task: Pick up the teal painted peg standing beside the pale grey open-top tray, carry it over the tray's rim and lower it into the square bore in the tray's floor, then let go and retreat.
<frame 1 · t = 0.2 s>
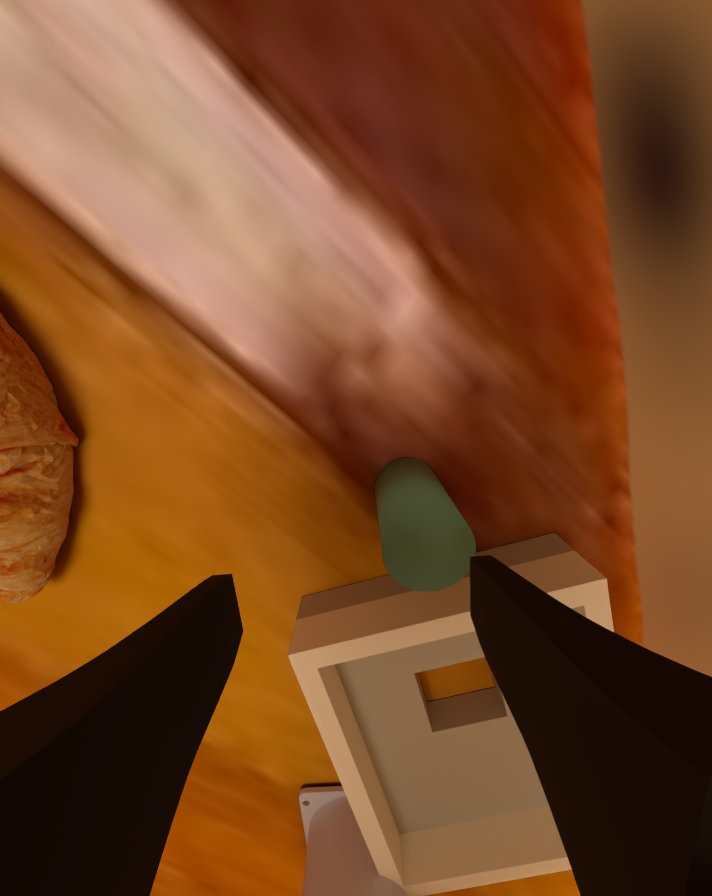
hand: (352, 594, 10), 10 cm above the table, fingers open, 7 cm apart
bore tray: (459, 690, 24), on the table
peg: (405, 487, 20), on the table
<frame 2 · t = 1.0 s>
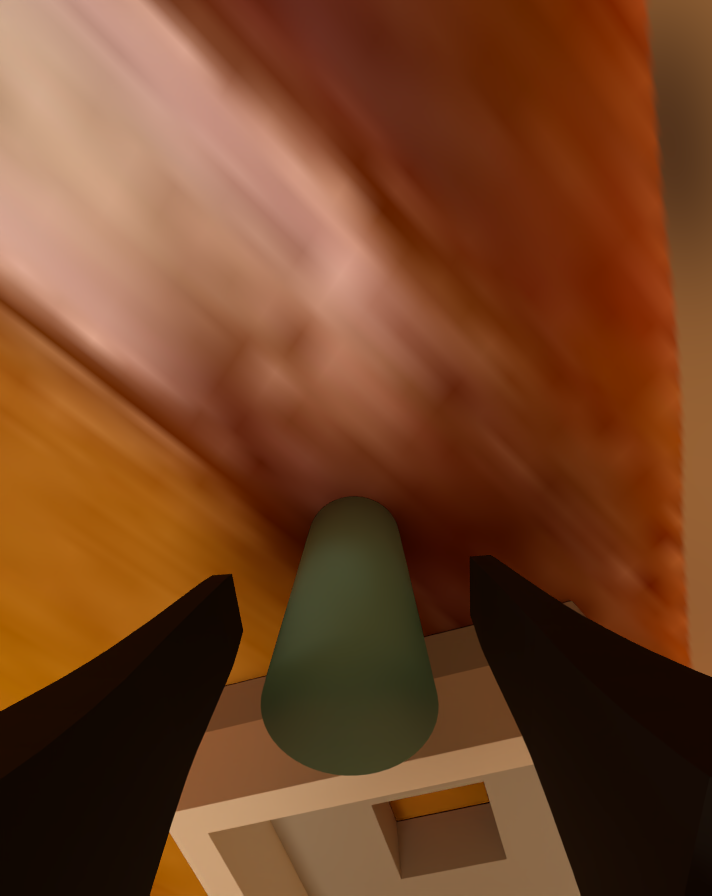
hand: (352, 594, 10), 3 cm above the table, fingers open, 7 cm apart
bore tray: (440, 807, 17), on the table
peg: (354, 538, 14), on the table
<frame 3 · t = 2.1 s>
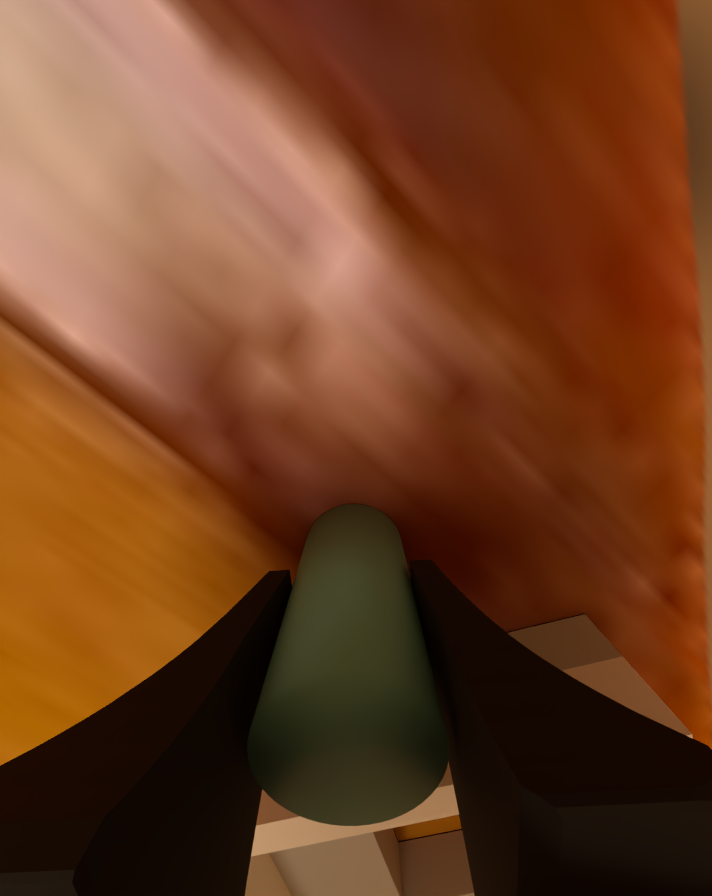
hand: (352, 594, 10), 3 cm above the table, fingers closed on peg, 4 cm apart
bore tray: (444, 827, 16), on the table
peg: (353, 548, 13), on the table, touching gripper
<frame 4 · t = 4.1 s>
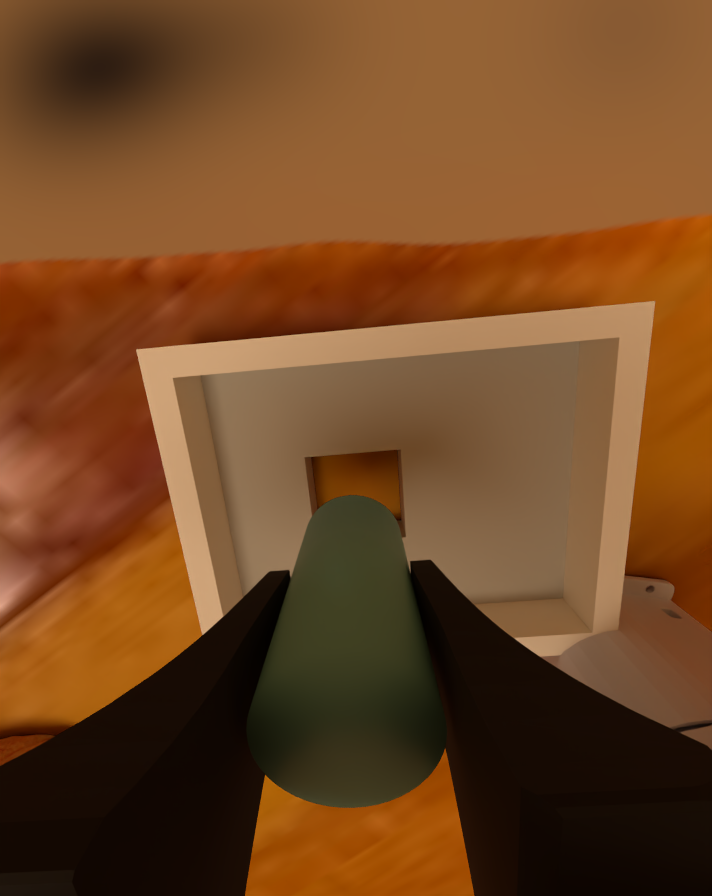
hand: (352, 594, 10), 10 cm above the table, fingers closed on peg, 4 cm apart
bore tray: (392, 482, 20), on the table
peg: (353, 540, 13), point 7 cm above the table, touching gripper
croissant: (64, 771, 26), on the table
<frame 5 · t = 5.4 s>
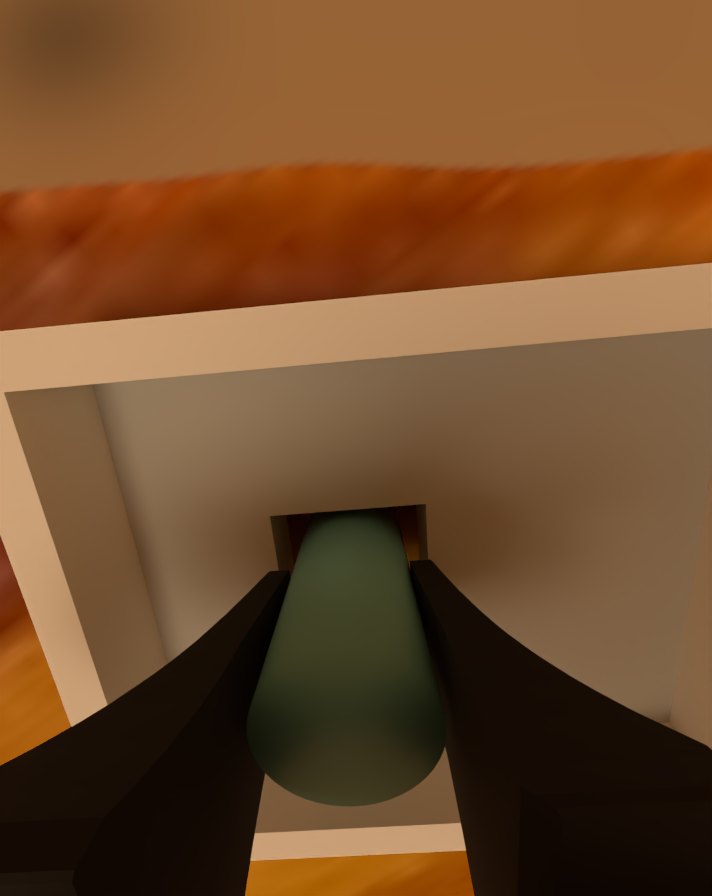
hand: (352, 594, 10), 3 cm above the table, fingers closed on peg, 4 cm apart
bore tray: (407, 542, 13), on the table
peg: (353, 539, 13), resting in bore tray, touching gripper
when the fingers open (3 cm above the table, at t = 6.0 s): peg stays where it is, resting in bore tray.
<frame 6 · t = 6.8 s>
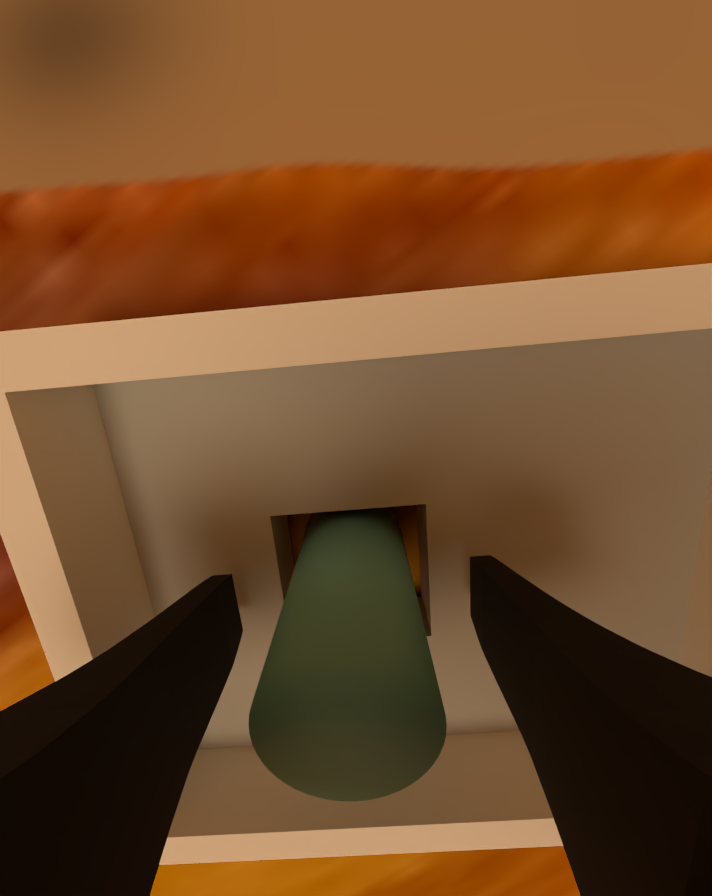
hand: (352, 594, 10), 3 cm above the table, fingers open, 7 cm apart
bore tray: (407, 542, 13), on the table
peg: (353, 538, 13), resting in bore tray
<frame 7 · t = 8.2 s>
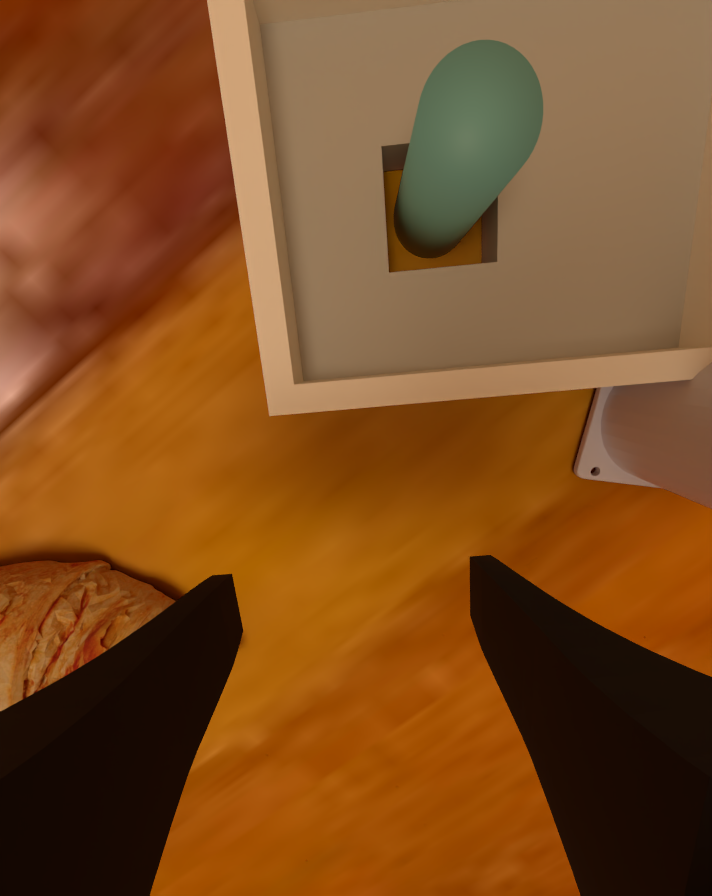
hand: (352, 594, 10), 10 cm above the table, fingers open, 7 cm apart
bore tray: (473, 219, 17), on the table
peg: (430, 217, 17), resting in bore tray
croissant: (84, 614, 23), on the table
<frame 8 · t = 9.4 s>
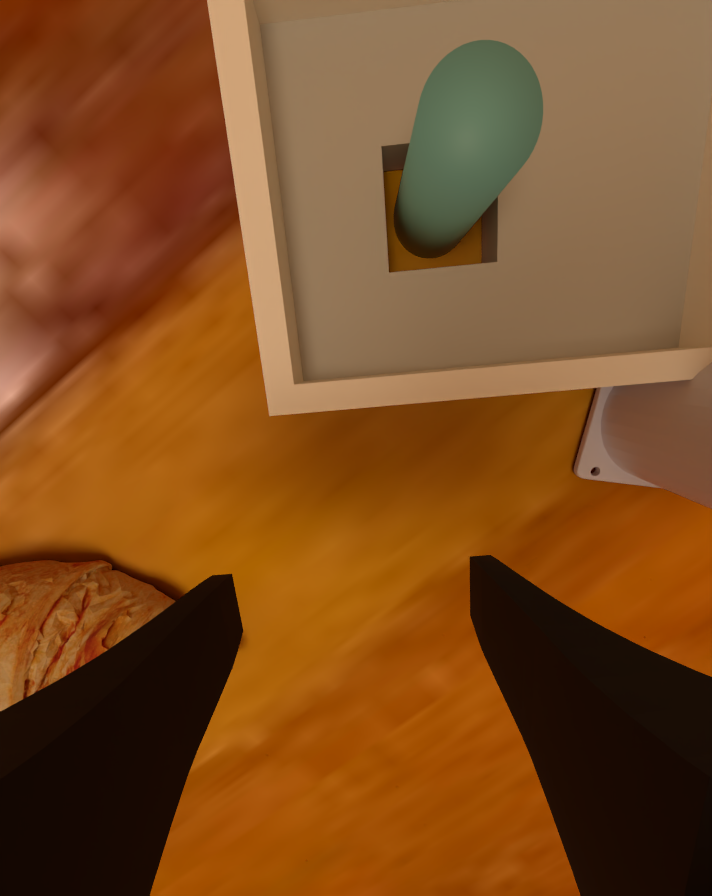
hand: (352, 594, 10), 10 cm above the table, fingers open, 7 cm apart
bore tray: (473, 219, 17), on the table
peg: (430, 217, 17), resting in bore tray
croissant: (85, 614, 23), on the table
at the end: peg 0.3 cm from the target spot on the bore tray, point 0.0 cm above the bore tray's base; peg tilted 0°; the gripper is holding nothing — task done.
